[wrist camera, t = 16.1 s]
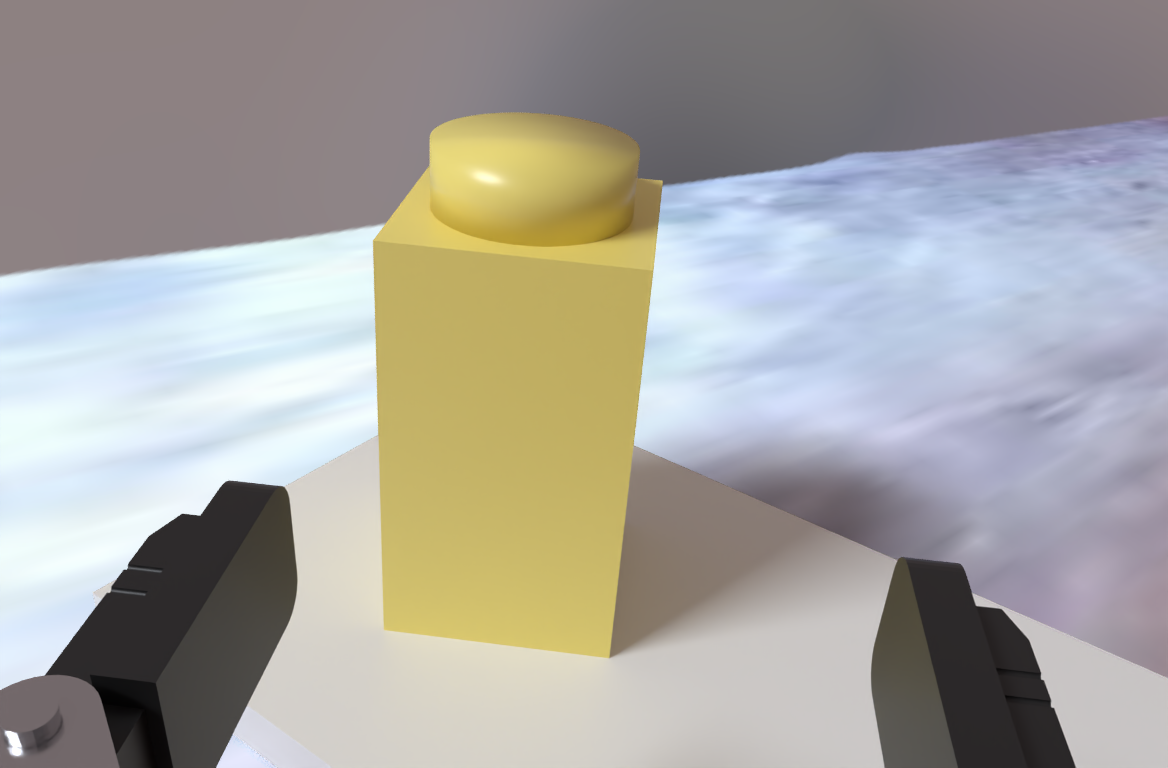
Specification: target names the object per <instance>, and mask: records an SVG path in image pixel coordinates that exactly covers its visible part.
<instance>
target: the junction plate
mask: <svg viewBox="0 0 1168 768" xmlns="http://www.w3.org/2000/svg"><path fill="white" fill-rule="evenodd" d="M285 489H286V490H287V492H288V495H289V499H290V508H291V517H292V527H293V537H294V546H295V556H296V566H297V577H298V582H297V594H296V600H295V605H294V609H293V612H292V616H291V618H290V621H289V623H288V625H287V627H286V629H285V631H284V633H283V635H282V637H281V639H280V641H279V643H278V645H277V647H276V649H275V651H274V653H273V655H272V657H271V659H270V661H269V663H268V665H267V667H266V669H265V671H264V673H263V675H262V677H261V679H260V681H259V683H258V685H257V687H256V689H255V691H254V693H253V695H252V697H251V699H250V701H249V703H248V705H247V707H246V709H245V711H244V713H243V715H242V717H241V719H240V721H239V723H238V725H237V727H236V729H235V731H234V733H233V735H234V736H236V737H237V738H238V739H240V740H241V741H242V742H244V743H245V744H246V745H248V746H249V747H250V748H252V749H253V750H254V751H256V752H257V753H258V754H259V755H261V756H262V757H263V758H265V759H266V760H267V761H269V762H270V763H271V764H273V765H274V766H275V767H277V768H885V767H884V761H883V755H882V750H881V744H880V738H879V732H878V727H877V721H876V715H875V709H874V704H873V698H872V690H871V663H872V654H873V648H874V643H875V639H876V636H877V632H878V628H879V624H880V620H881V617H882V613H883V609H884V605H885V601H886V598H887V594H888V590H889V586H890V583H891V579H892V575H893V571H894V568H895V565H896V563H897V561H898V560H896V559H893V558H891V557H889V556H886V555H884V554H882V553H880V552H877V551H875V550H873V549H870V548H868V547H866V546H863V545H861V544H859V543H857V542H854V541H852V540H850V539H847V538H845V537H843V536H841V535H838V534H836V533H834V532H831V531H829V530H827V529H824V528H822V527H820V526H818V525H815V524H813V523H811V522H808V521H806V520H804V519H802V518H799V517H797V516H795V515H792V514H790V513H788V512H785V511H783V510H781V509H779V508H776V507H774V506H772V505H769V504H767V503H765V502H763V501H760V500H758V499H756V498H753V497H751V496H749V495H746V494H744V493H742V492H740V491H737V490H735V489H733V488H730V487H728V486H726V485H724V484H721V483H719V482H717V481H714V480H712V479H710V478H708V477H705V476H703V475H701V474H698V473H696V472H694V471H691V470H689V469H687V468H685V467H682V466H680V465H678V464H675V463H673V462H671V461H669V460H666V459H664V458H662V457H659V456H657V455H655V454H652V453H650V452H648V451H646V450H643V449H641V448H639V447H636V446H634V445H633V454H632V463H631V472H630V481H629V489H628V498H627V507H626V516H625V525H624V533H623V542H622V551H621V560H620V568H619V577H618V586H617V595H616V604H615V612H614V621H613V630H612V639H611V648H610V656H609V658H603V657H595V656H587V655H579V654H571V653H563V652H555V651H547V650H539V649H531V648H523V647H515V646H507V645H499V644H491V643H483V642H475V641H467V640H459V639H451V638H443V637H435V636H427V635H419V634H411V633H403V632H395V631H387V630H384V620H383V584H382V547H381V511H380V475H379V438H378V435H377V436H375V437H373V438H372V439H370V440H368V441H366V442H364V443H363V444H361V445H359V446H357V447H355V448H353V449H352V450H350V451H348V452H346V453H344V454H343V455H341V456H339V457H337V458H335V459H334V460H332V461H330V462H328V463H326V464H325V465H323V466H321V467H319V468H317V469H315V470H314V471H312V472H310V473H308V474H306V475H305V476H303V477H301V478H299V479H297V480H296V481H294V482H292V483H290V484H288V485H286V486H285ZM116 580H117V579H116ZM116 580H114V581H113V582H111V583H109V584H107V585H105V586H104V587H102V588H100V589H98V590H96V591H95V592H93V597H94V602H95V607H96V606H97V605H98V604H99V602H100V601H101V600H102V598H103V597H104V596H105V594H106V593H110V592H111V586H112V585H113V584H114V582H115V581H116ZM972 595H973V598H974V601H975V604H976V606H982V607H991V608H999V609H1002V610H1003V611H1004V612H1005V613H1006V614H1007V616H1008V617H1009V618H1010V619H1011V620H1012V621H1013V622H1014V623H1015V625H1016V626H1017V627H1018V628H1019V629H1020V630H1021V631H1022V632H1023V634H1024V635H1025V636H1026V637H1027V638H1028V639H1029V641H1030V644H1031V646H1032V649H1033V652H1034V655H1035V657H1036V660H1037V663H1038V665H1039V668H1040V671H1041V680H1044V682H1045V684H1046V687H1047V690H1048V693H1049V695H1050V698H1051V707H1052V708H1054V709H1055V712H1056V714H1057V717H1058V720H1059V722H1060V725H1061V728H1062V731H1063V733H1064V736H1065V739H1066V742H1067V744H1068V747H1069V750H1070V752H1071V755H1072V758H1073V761H1074V763H1075V766H1076V768H1168V678H1166V677H1164V676H1162V675H1159V674H1157V673H1155V672H1152V671H1150V670H1148V669H1146V668H1143V667H1141V666H1139V665H1136V664H1134V663H1132V662H1130V661H1127V660H1125V659H1123V658H1120V657H1118V656H1116V655H1113V654H1111V653H1109V652H1107V651H1104V650H1102V649H1100V648H1097V647H1095V646H1093V645H1091V644H1088V643H1086V642H1084V641H1081V640H1079V639H1077V638H1074V637H1072V636H1070V635H1068V634H1065V633H1063V632H1061V631H1058V630H1056V629H1054V628H1052V627H1049V626H1047V625H1045V624H1042V623H1040V622H1038V621H1036V620H1033V619H1031V618H1029V617H1026V616H1024V615H1022V614H1019V613H1017V612H1015V611H1013V610H1010V609H1008V608H1006V607H1003V606H1001V605H999V604H997V603H994V602H992V601H990V600H987V599H985V598H983V597H980V596H978V595H976V594H974V593H972Z"/></svg>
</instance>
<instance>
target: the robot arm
mask: <svg viewBox="0 0 1168 768" xmlns="http://www.w3.org/2000/svg"><path fill="white" fill-rule="evenodd" d="M297 582H298V577H297V566H296V556H295V546H294V537H293V527H292V517H291V508H290V499H289V495H288V492H287V490H286V489H285V487H283V486H274V485H265V484H256V483H247V482H238V481H227V482H225V483H224V484H223V485H222V486H221V487H220V489H219V490H218V491H217V493H216V494H215V496H214V497H213V499H212V500H211V501H210V503H209V504H208V506H207V507H206V509H205V510H204V511H203V513H202V514H201V516H198V515H189V514H181V515H180V516H178V517H177V518H175V519H174V520H172V521H171V522H169V523H168V524H166V525H165V526H163V527H162V528H160V529H159V530H158V531H156V532H155V533H153V534H152V535H150V536H149V537H148V538H147V539H146V541H145V542H144V543H143V545H142V546H141V547H140V549H139V550H138V552H137V553H136V554H135V556H134V557H133V558H132V560H131V561H130V562H129V564H128V569H127V570H123V572H122V573H121V574H120V576H119V577H118V578H117V580H116V581H115V582H114V584H113V585H112V586H111V592H110V593H106V594H105V596H104V597H103V598H102V600H101V601H100V602H99V604H98V605H97V606H96V608H95V609H94V610H93V612H92V613H91V614H90V616H89V617H88V618H87V620H86V621H85V622H84V624H83V625H82V626H81V628H80V629H79V630H78V632H77V633H76V634H75V636H74V637H73V638H72V640H71V641H70V642H69V644H68V645H67V646H66V648H65V649H64V651H63V652H62V653H61V655H60V656H59V657H58V659H57V660H56V661H55V663H54V664H53V665H52V667H51V668H50V669H49V671H48V672H47V673H46V675H45V676H40V677H34V678H30V679H26V680H23V681H20V682H18V683H15V684H12V685H10V686H8V687H6V688H4V689H2V690H0V768H216V766H217V764H218V762H219V760H220V758H221V756H222V754H223V752H224V750H225V748H226V746H227V744H228V742H229V740H230V738H231V736H232V734H233V733H234V731H235V729H236V727H237V725H238V723H239V721H240V719H241V717H242V715H243V713H244V711H245V709H246V707H247V705H248V703H249V701H250V699H251V697H252V695H253V693H254V691H255V689H256V687H257V685H258V683H259V681H260V679H261V677H262V675H263V673H264V671H265V669H266V667H267V665H268V663H269V661H270V659H271V657H272V655H273V653H274V651H275V649H276V647H277V645H278V643H279V641H280V639H281V637H282V635H283V633H284V631H285V629H286V627H287V625H288V623H289V621H290V618H291V616H292V612H293V609H294V605H295V600H296V594H297ZM871 690H872V698H873V704H874V709H875V715H876V721H877V727H878V732H879V738H880V744H881V750H882V755H883V761H884V767H885V768H1076V766H1075V763H1074V761H1073V758H1072V755H1071V752H1070V750H1069V747H1068V744H1067V742H1066V739H1065V736H1064V733H1063V731H1062V728H1061V725H1060V722H1059V720H1058V717H1057V714H1056V712H1055V709H1054V708H1052V707H1051V698H1050V695H1049V693H1048V690H1047V687H1046V684H1045V682H1044V680H1041V671H1040V668H1039V665H1038V663H1037V660H1036V657H1035V655H1034V652H1033V649H1032V646H1031V644H1030V641H1029V639H1028V638H1027V637H1026V636H1025V635H1024V634H1023V632H1022V631H1021V630H1020V629H1019V628H1018V627H1017V626H1016V625H1015V623H1014V622H1013V621H1012V620H1011V619H1010V618H1009V617H1008V616H1007V614H1006V613H1005V612H1004V611H1003V610H1002V609H999V608H991V607H982V606H976V604H975V601H974V598H973V595H972V592H971V589H970V586H969V582H968V579H967V576H966V573H965V570H964V568H963V567H962V565H961V564H958V563H950V562H941V561H932V560H923V559H914V558H905V557H901V558H899V559H898V561H897V563H896V565H895V568H894V571H893V575H892V579H891V583H890V586H889V590H888V594H887V598H886V601H885V605H884V609H883V613H882V617H881V620H880V624H879V628H878V632H877V636H876V639H875V643H874V648H873V654H872V663H871Z"/></svg>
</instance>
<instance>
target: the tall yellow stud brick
mask: <svg viewBox="0 0 1168 768" xmlns="http://www.w3.org/2000/svg"><path fill="white" fill-rule="evenodd" d="M639 156H640V148H639V145H638V144H637V143H636V141H635V140H634V139H632V138H631V137H630V136H628V135H626V134H625V133H623V132H621V131H619V130H616V129H614V128H611V127H609V126H606V125H602V124H599V123H596V122H591V121H587V120H583V119H577V118H572V117H566V116H559V115H550V114H539V113H492V114H481V115H474V116H467V117H463V118H458V119H454V120H451V121H449V122H446V123H443V124H441V125H440V126H438V127H436V128H435V129H434V130H433V131H432V133H431V135H430V166H429V167H428V168H427V170H426V171H425V172H424V174H423V175H422V176H421V178H420V179H419V180H418V182H417V183H416V184H415V186H414V187H413V188H412V190H411V191H410V192H409V194H408V195H407V196H406V198H405V199H404V200H403V202H402V203H401V204H400V206H399V207H398V208H397V210H396V211H395V213H394V214H393V215H392V216H391V218H390V219H389V220H388V222H387V223H386V224H385V226H384V227H383V228H382V230H381V231H380V232H379V234H378V235H377V236H376V238H375V239H374V240H373V256H374V292H375V329H376V365H377V402H378V438H379V475H380V511H381V547H382V584H383V620H384V630H387V631H395V632H403V633H411V634H419V635H427V636H435V637H443V638H451V639H459V640H467V641H475V642H483V643H491V644H499V645H507V646H515V647H523V648H531V649H539V650H547V651H555V652H563V653H571V654H579V655H587V656H595V657H603V658H609V656H610V648H611V639H612V630H613V621H614V612H615V604H616V595H617V586H618V577H619V568H620V560H621V551H622V542H623V533H624V525H625V516H626V507H627V498H628V489H629V481H630V472H631V463H632V454H633V445H634V437H635V428H636V419H637V410H638V401H639V393H640V384H641V375H642V366H643V357H644V349H645V340H646V331H647V322H648V313H649V305H650V296H651V287H652V278H653V269H654V260H655V250H656V241H657V231H658V222H659V212H660V203H661V193H662V184H663V181H659V180H649V179H639V178H637V175H638V166H639Z"/></svg>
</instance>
